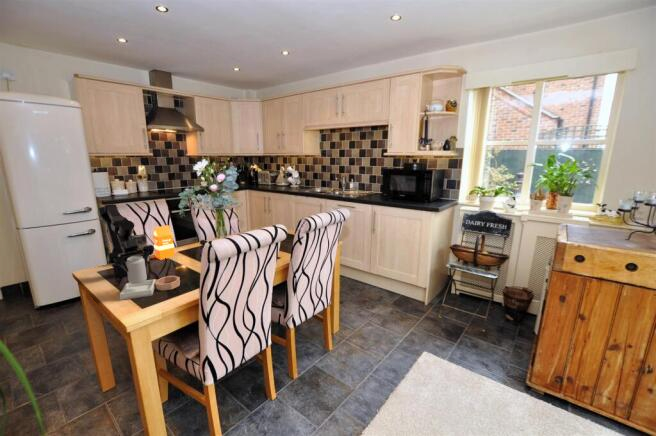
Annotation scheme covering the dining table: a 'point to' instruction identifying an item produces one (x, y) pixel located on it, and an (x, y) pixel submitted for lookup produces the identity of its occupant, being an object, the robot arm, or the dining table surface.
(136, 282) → the can
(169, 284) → the collar
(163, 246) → the orange juice
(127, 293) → the tray
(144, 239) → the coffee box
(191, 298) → the dining table surface
